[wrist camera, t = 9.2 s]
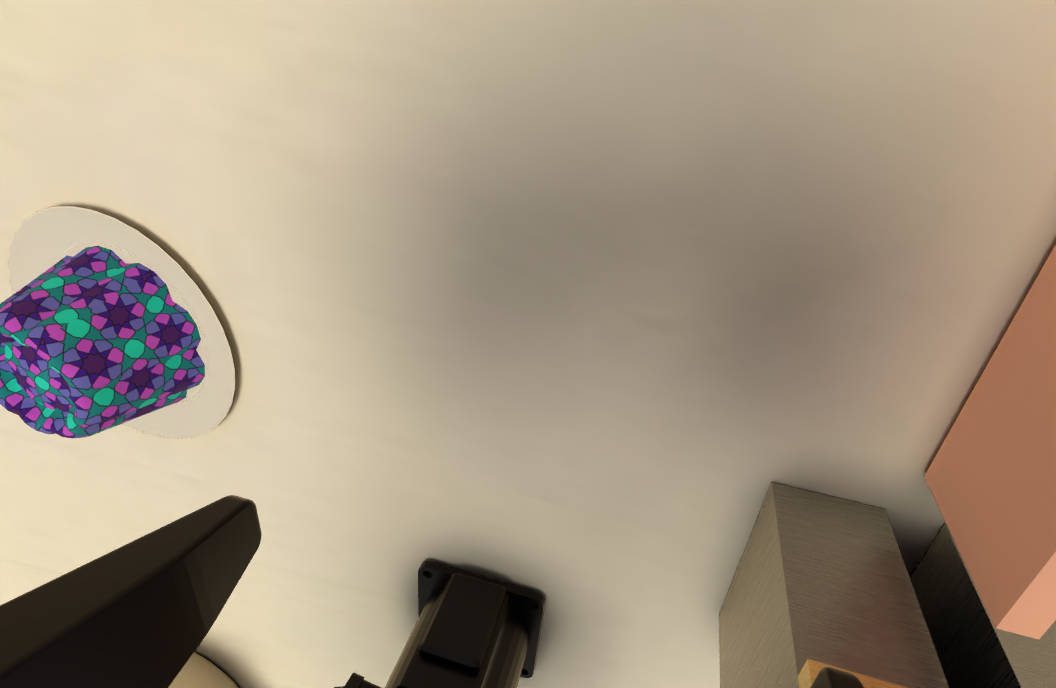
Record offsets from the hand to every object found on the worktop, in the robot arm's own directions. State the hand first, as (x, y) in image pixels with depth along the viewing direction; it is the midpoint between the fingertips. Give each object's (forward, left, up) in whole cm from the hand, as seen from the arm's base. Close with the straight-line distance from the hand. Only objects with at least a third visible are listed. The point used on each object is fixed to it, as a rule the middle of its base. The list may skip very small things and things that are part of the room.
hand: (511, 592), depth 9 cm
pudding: (-7, +22, -14) cm, 27 cm away
